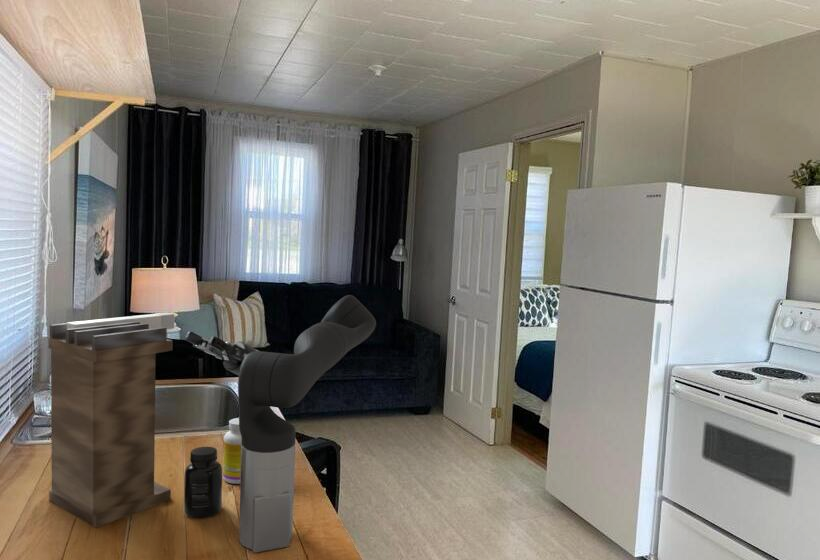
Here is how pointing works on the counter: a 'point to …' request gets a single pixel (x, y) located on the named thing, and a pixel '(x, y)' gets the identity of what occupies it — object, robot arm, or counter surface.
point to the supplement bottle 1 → (203, 484)
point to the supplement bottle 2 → (232, 453)
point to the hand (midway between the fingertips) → (199, 337)
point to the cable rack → (104, 419)
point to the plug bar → (152, 319)
